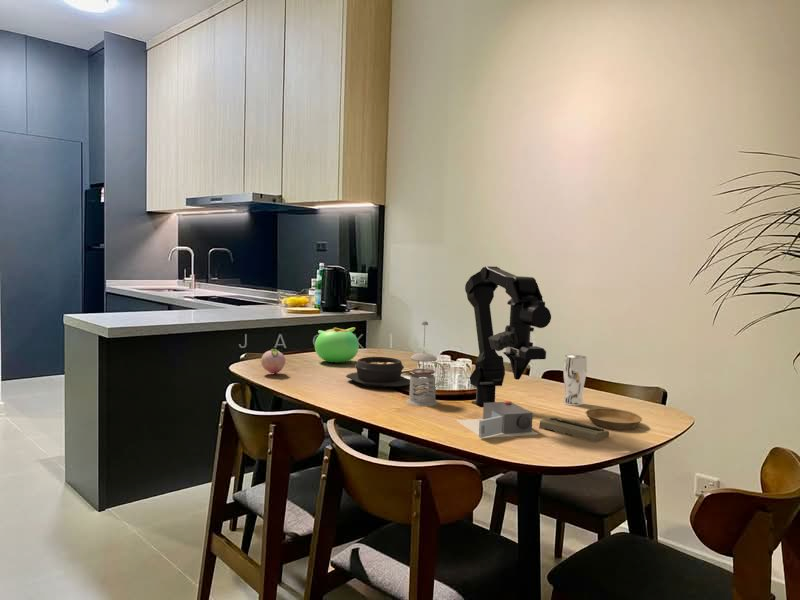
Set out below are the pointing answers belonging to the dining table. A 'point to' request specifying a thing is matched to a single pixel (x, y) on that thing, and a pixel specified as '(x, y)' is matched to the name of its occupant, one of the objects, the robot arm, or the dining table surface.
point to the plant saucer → (613, 418)
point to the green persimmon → (337, 345)
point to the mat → (474, 427)
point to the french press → (423, 380)
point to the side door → (491, 426)
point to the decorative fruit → (273, 361)
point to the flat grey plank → (574, 429)
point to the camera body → (509, 416)
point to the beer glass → (574, 379)
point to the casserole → (379, 372)
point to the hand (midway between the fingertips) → (516, 379)
